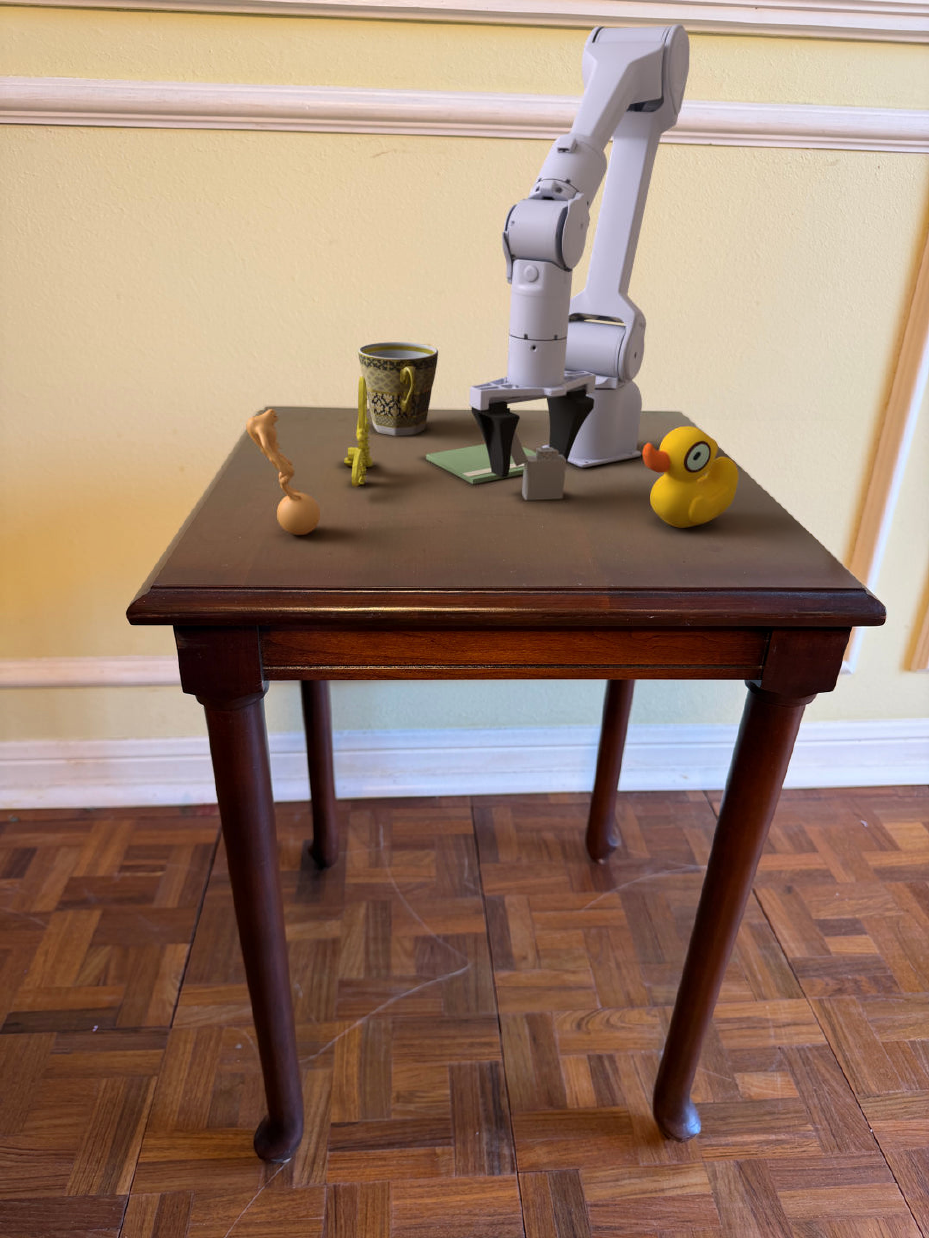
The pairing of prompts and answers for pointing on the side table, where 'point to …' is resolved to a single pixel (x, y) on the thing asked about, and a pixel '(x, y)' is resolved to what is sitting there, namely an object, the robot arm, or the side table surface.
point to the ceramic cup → (398, 385)
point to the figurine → (284, 478)
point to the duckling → (690, 478)
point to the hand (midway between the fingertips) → (529, 468)
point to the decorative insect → (360, 440)
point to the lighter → (540, 471)
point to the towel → (473, 463)
